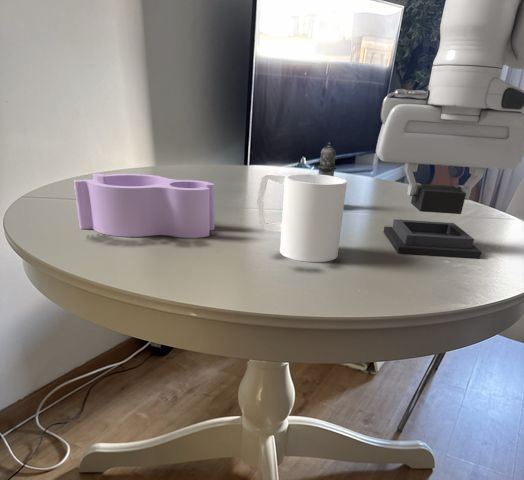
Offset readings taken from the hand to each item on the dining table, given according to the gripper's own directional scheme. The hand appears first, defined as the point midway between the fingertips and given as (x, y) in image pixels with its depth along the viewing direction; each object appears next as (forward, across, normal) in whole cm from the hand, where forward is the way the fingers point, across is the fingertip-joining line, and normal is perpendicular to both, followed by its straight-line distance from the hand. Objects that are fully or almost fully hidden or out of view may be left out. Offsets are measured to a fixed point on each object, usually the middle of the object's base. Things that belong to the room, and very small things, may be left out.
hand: (437, 197), depth 72 cm
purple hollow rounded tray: (+8, -44, 0) cm, 44 cm away
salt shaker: (+7, -15, +24) cm, 29 cm away
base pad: (+7, 0, 0) cm, 7 cm away
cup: (+8, -21, -8) cm, 23 cm away
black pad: (+2, 0, 0) cm, 2 cm away
